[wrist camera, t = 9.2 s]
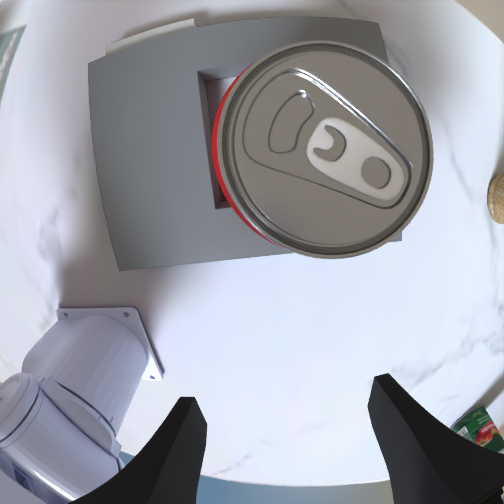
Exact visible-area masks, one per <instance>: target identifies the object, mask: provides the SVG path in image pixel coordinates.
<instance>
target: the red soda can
mask: <svg viewBox="0 0 504 504" xmlns="http://www.w3.org/2000/svg"><path fill="white" fill-rule="evenodd" d="M212 157H213V163H214V168H215V172H216V176H217V179H218V182H219V184H220V187H221V189H222V191H223V193H224V195H225V197H226V199H227V201H228V202H229V204H230V206H231V207H232V208H233V210H234V211H235V212H236V214H237V215H238V216H239V217H240V218H241V220H242V221H243V222H244V223H245V224H246V225H247V226H248V227H250V228H251V229H252V230H253V231H254V232H256V233H257V234H258V235H260V236H261V237H263V238H264V239H266V240H267V241H269V242H271V243H273V244H275V245H277V246H279V247H281V248H284V249H287V250H289V251H291V252H294V253H297V254H300V255H304V256H308V257H313V258H320V259H343V258H350V257H355V256H359V255H362V254H365V253H368V252H371V251H373V250H375V249H377V248H379V247H381V246H383V245H384V244H386V243H388V242H389V241H391V240H392V239H393V238H395V237H396V236H397V235H398V234H399V233H400V232H401V231H402V230H404V229H405V227H406V226H407V225H408V224H409V223H410V222H411V220H412V219H413V218H414V216H415V215H416V213H417V212H418V210H419V209H420V207H421V205H422V203H423V201H424V199H425V196H426V194H427V191H428V188H429V185H430V181H431V176H432V170H433V141H432V135H431V130H430V126H429V122H428V118H427V115H426V112H425V109H424V107H423V106H422V104H421V102H420V100H419V99H418V97H417V96H416V94H415V93H414V91H413V90H412V88H411V87H410V86H409V84H408V83H407V82H406V81H405V80H404V78H403V77H402V76H401V75H400V74H399V73H398V72H397V71H396V70H394V69H393V68H392V67H391V66H390V65H389V64H387V63H386V62H384V61H383V60H382V59H380V58H378V57H377V56H375V55H373V54H372V53H370V52H368V51H366V50H363V49H361V48H359V47H356V46H353V45H350V44H346V43H342V42H336V41H327V40H311V41H302V42H297V43H293V44H289V45H286V46H283V47H280V48H278V49H276V50H273V51H271V52H270V53H268V54H266V55H264V56H263V57H261V58H260V59H258V60H257V61H255V62H254V63H252V64H251V65H250V66H249V67H247V68H246V69H245V70H244V71H243V72H242V73H241V74H240V75H239V76H238V77H237V78H236V79H235V80H234V82H233V83H232V84H231V86H230V87H229V88H228V90H227V92H226V93H225V95H224V97H223V99H222V101H221V103H220V105H219V108H218V111H217V113H216V117H215V121H214V126H213V132H212Z"/></svg>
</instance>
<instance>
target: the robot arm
mask: <svg viewBox="0 0 504 504" xmlns="http://www.w3.org/2000/svg"><path fill="white" fill-rule="evenodd" d="M125 312H127V313H128V314H129V315H127V314H126V313H125ZM56 316H57V318H58V321H57V322H56V323H55V324H54V325H53V326H52V327H51V328H50V329H49V330H48V331H47V332H46V333H45V335H44V336H43V337H42V338H41V339H40V340H39V341H38V342H37V343H36V344H35V345H34V346H33V348H32V349H31V350H30V351H29V352H28V354H27V355H26V357H25V359H24V361H23V365H22V372H21V373H17V374H15V375H13V376H11V377H10V378H8V379H7V380H6V381H4V382H3V383H2V384H1V385H0V504H196V494H197V487H198V482H199V477H200V472H201V467H202V462H203V457H204V452H205V447H206V437H207V423H206V421H205V418H204V416H203V414H202V412H201V410H200V408H199V405H198V403H197V401H196V399H195V397H180V398H179V399H178V401H177V402H176V404H175V405H174V407H173V408H172V410H171V411H170V413H169V414H168V416H167V417H166V419H165V420H164V422H163V423H162V424H161V426H160V427H159V428H158V430H157V431H156V432H155V434H154V435H153V436H152V438H151V439H150V440H149V441H148V443H147V444H146V445H145V446H144V447H143V448H142V450H141V451H140V452H139V453H138V454H137V455H136V456H135V457H134V458H133V459H132V460H131V461H130V462H129V463H128V464H127V465H126V466H125V465H124V463H123V462H122V460H121V459H120V458H119V457H118V455H119V452H120V449H121V447H122V446H121V445H120V444H119V443H118V442H117V441H116V439H115V438H116V436H117V433H118V431H119V429H120V426H121V424H122V421H123V419H124V417H125V414H126V412H127V410H128V407H129V405H130V403H131V400H132V398H133V396H134V394H135V391H136V389H137V387H138V385H139V382H140V380H151V381H161V380H162V379H163V374H162V372H161V369H160V367H159V365H158V363H157V360H156V358H155V355H154V353H153V350H152V348H151V346H150V343H149V340H148V338H147V335H146V333H145V330H144V327H143V325H142V322H141V319H140V316H139V314H138V311H137V310H136V309H135V308H133V307H119V308H58V309H57V310H56ZM368 411H369V415H370V419H371V423H372V427H373V430H374V433H375V435H376V438H377V441H378V443H379V446H380V449H381V452H382V454H383V457H384V460H385V463H386V465H387V469H388V472H389V476H390V481H391V486H392V492H393V499H394V504H504V497H502V498H501V495H502V494H503V489H502V487H503V486H504V454H502V453H498V452H495V451H492V450H490V449H487V448H484V447H482V446H480V445H478V444H476V443H474V442H472V441H470V440H468V439H466V438H464V437H462V436H461V435H459V434H457V433H456V432H454V431H453V430H451V429H450V428H448V427H447V426H445V425H444V424H443V423H441V422H440V421H439V420H437V419H436V418H435V417H434V416H432V415H431V414H430V413H429V412H428V411H426V410H425V409H424V408H423V407H422V406H421V405H420V404H419V403H418V402H417V401H416V400H414V399H413V398H412V397H411V396H410V395H409V394H408V393H407V392H406V391H405V390H404V389H403V388H402V387H401V386H400V385H399V384H398V383H397V381H396V380H395V379H394V378H393V377H392V376H391V375H390V374H388V373H387V374H383V375H379V376H375V377H374V381H373V385H372V390H371V394H370V398H369V402H368Z"/></svg>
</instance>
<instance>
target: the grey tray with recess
mask: <svg viewBox="0 0 504 504" xmlns="http://www.w3.org/2000/svg"><path fill="white" fill-rule="evenodd" d="M311 40H327V41H336V42H342V43H346V44H350V45H353V46H356V47H359V48H361V49H363V50H366V51H368V52H370V53H372V54H373V55H375V56H377V57H378V58H380V59H382V60H383V61H384V62H386V63H387V64H388V59H387V55H386V50H385V46H384V42H383V39H382V35H381V31H380V28H379V24H378V23H374V22H368V21H360V20H352V19H342V18H328V17H271V18H257V19H247V20H238V21H230V22H224V23H217V24H212V25H206V26H201V27H197V23H196V21H195V19H194V18H192V19H188V20H184V21H180V22H176V23H172V24H168V25H165V26H161V27H158V28H154V29H151V30H148V31H145V32H142V33H139V34H136V35H133V36H130V37H128V38H125V39H122V40H120V41H117V42H115V43H112V44H110V45H108V46H106V56H104V57H102V58H99V59H97V60H95V61H93V62H91V63H88V82H89V106H90V119H91V130H92V140H93V148H94V156H95V163H96V169H97V176H98V182H99V187H100V193H101V198H102V203H103V208H104V212H105V217H106V221H107V226H108V230H109V234H110V238H111V242H112V246H113V250H114V253H115V257H116V261H117V264H118V267H119V271H123V270H134V269H144V268H153V267H163V266H173V265H183V264H193V263H202V262H212V261H222V260H231V259H241V258H250V257H259V256H269V255H278V254H287V253H294V252H291V251H289V250H287V249H284V248H281V247H279V246H277V245H275V244H273V243H271V242H269V241H267V240H266V239H264V238H263V237H261V236H260V235H258V234H257V233H256V232H254V231H253V230H252V229H251V228H250V227H248V226H247V225H246V224H245V223H244V222H243V221H242V220H241V218H240V217H239V216H238V215H237V214H236V212H235V211H234V210H233V208H232V207H231V206H230V204H229V202H228V201H223V202H221V197H220V190H219V183H218V179H217V176H216V172H215V168H214V163H213V157H212V132H211V124H210V116H209V108H208V100H207V92H206V84H205V81H210V80H216V79H222V78H229V77H236V76H239V75H240V74H241V73H242V72H243V71H244V70H245V69H246V68H247V67H249V66H250V65H251V64H252V63H254V62H255V61H257V60H258V59H260V58H261V57H263V56H264V55H266V54H268V53H270V52H271V51H273V50H276V49H278V48H280V47H283V46H286V45H289V44H293V43H297V42H302V41H311ZM395 241H402V231H401V232H400V233H399V234H398V235H397V236H396V237H395V238H393V239H392V240H391V241H389V242H395Z"/></svg>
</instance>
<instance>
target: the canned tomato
mask: <svg viewBox="0 0 504 504" xmlns="http://www.w3.org/2000/svg"><path fill="white" fill-rule="evenodd" d="M450 429H451V430H453V431H454V432H456V433H457V434H459V435H461V436H462V437H464V438H466V439H468V440H470V441H472V442H474V443H476V444H478V445H480V446H482V447H484V448H487V449H490V450H492V451H495V452H498V453H502V454H504V440H503V438H502V437H501V435H500V433H499V431H498V430H497V428H496V426H495V424H494V423H493V421H492V419H491V418H490V416H489V414H488V412H487V411H486V410H485V408H484V406H483V405H478V406H476V407H474V408H472V409H471V410H469V411H468V412H466V413H465V414H464V415H463V416H461V417H460V418H459V419H458V420H457V421H456V422H455V423H454V424H453V425H452V426H451V427H450Z"/></svg>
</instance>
